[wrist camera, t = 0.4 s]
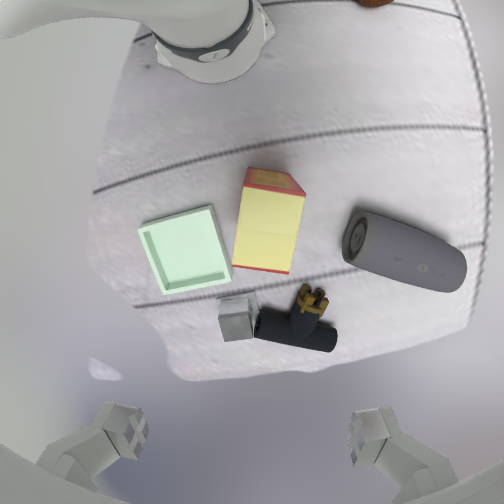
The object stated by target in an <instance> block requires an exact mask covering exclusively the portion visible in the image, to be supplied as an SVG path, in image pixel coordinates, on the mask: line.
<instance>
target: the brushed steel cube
mask: <svg viewBox="0 0 504 504" xmlns="http://www.w3.org/2000/svg"><path fill="white" fill-rule="evenodd" d="M218 320H219V324H220V327H221V331H222V334H223V338H224V341H225V342H228V341H236V340H244V339H251V338H253V323H252V315H251V311H250V306H249V301H248V297H247V298H240V299H233V300H226V301H221V302H220V309H219V317H218Z"/></svg>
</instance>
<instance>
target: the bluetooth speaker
mask: <svg viewBox="0 0 504 504" xmlns="http://www.w3.org/2000/svg"><path fill="white" fill-rule="evenodd" d="M342 255H343V259H344V260H345V261H346V262H347V263H349V264H351V265H353V266H356V267H358V268H361V269H363V270H366V271H369V272H372V273H375V274H378V275H381V276H384V277H387V278H390V279H393V280H396V281H399V282H402V283H406V284H410V285H414V286H418V287H421V288H426V289H430V290H434V291H439V292H447V293H449V292H453V291H456V290H457V289H458V288H459V287H460V286H461V285H462V283H463V282H464V279H465V277H466V273H467V263H466V259H465V256H464V255H463V253H462V252H461V251H459V250H458V249H456V248H455V247H453V246H451V245H450V244H448V243H446V242H444V241H442V240H440V239H438V238H436V237H434V236H432V235H430V234H428V233H426V232H423V231H421V230H419V229H416V228H414V227H411V226H409V225H406V224H404V223H401V222H398V221H395V220H391V219H388V218H385V217H382V216H379V215H376V214H372V213H368V212H363V211H359V212H357V213H356V214H355V215H354V216H353V217H352V219H351V221H350V224H349V226H348V229H347V231H346V234H345V236H344V239H343V245H342Z"/></svg>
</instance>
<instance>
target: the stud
mask: <svg viewBox="0 0 504 504" xmlns="http://www.w3.org/2000/svg"><path fill="white" fill-rule="evenodd" d="M247 297H248V301H249V306H250V311H251V315H252V323H253V325H255V322H256V319H257V316H258V314H259V312H260V311H259V307H258V304H257V300H256V297H255V293H254V291H249V292H244V293H239V294H234V295H229V296H224V297H219V298H216V301H217V303H218V306H219V309H220V302H221V301H226V300H233V299H240V298H247Z"/></svg>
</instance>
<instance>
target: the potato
mask: <svg viewBox="0 0 504 504" xmlns="http://www.w3.org/2000/svg"><path fill="white" fill-rule="evenodd" d="M358 1H359V2H361V3H362V4H363V5H365V6H368V7H379V6H383V5H386V4H388V3H390V2H392V1H394V0H358Z"/></svg>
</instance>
